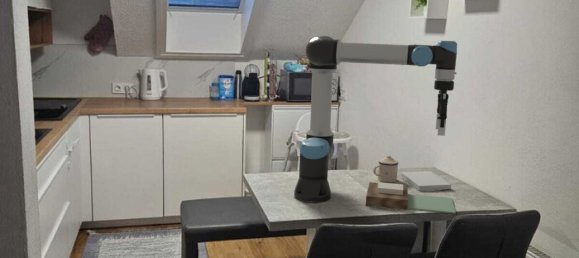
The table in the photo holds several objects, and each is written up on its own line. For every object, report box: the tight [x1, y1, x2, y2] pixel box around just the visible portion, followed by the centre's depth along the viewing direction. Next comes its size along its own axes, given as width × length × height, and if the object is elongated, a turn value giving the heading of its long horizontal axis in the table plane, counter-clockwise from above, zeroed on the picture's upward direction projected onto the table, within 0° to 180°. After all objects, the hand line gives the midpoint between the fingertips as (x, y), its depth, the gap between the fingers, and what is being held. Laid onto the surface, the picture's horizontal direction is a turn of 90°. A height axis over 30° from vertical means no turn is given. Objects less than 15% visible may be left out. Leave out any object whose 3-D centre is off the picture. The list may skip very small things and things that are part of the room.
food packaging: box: [400, 170, 452, 192], centre depth 239 cm, size 15×3×20 cm
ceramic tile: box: [377, 181, 404, 195], centre depth 213 cm, size 10×8×2 cm
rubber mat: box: [407, 193, 457, 215], centre depth 211 cm, size 18×18×1 cm
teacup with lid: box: [373, 155, 399, 184], centre depth 242 cm, size 12×9×12 cm
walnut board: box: [365, 181, 409, 211], centre depth 214 cm, size 16×20×4 cm
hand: (439, 132), depth 213 cm, fingers open, 13 cm apart
